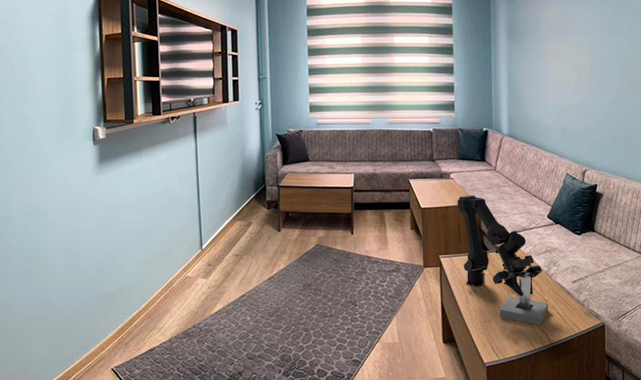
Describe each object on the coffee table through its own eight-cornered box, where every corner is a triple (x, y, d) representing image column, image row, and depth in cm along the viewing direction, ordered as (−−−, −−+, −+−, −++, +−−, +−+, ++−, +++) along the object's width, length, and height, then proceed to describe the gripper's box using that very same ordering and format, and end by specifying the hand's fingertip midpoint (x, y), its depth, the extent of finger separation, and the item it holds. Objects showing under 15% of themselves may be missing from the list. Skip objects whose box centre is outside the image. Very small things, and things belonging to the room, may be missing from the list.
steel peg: (517, 311, 197) (518, 277, 194) (520, 307, 200) (521, 273, 197) (528, 314, 194) (529, 279, 191) (530, 310, 197) (531, 275, 194)
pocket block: (500, 316, 196) (500, 309, 195) (510, 303, 207) (510, 296, 206) (539, 325, 188) (539, 317, 187) (547, 310, 199) (548, 303, 198)
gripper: (497, 252, 193) (515, 290, 185) (539, 245, 198) (559, 282, 190) (485, 265, 202) (501, 302, 194) (526, 258, 207) (543, 294, 199)
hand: (527, 295), depth 194 cm, fingers closed on steel peg, 4 cm apart
